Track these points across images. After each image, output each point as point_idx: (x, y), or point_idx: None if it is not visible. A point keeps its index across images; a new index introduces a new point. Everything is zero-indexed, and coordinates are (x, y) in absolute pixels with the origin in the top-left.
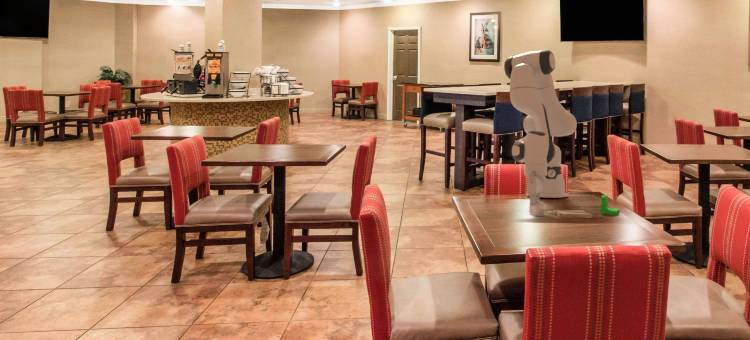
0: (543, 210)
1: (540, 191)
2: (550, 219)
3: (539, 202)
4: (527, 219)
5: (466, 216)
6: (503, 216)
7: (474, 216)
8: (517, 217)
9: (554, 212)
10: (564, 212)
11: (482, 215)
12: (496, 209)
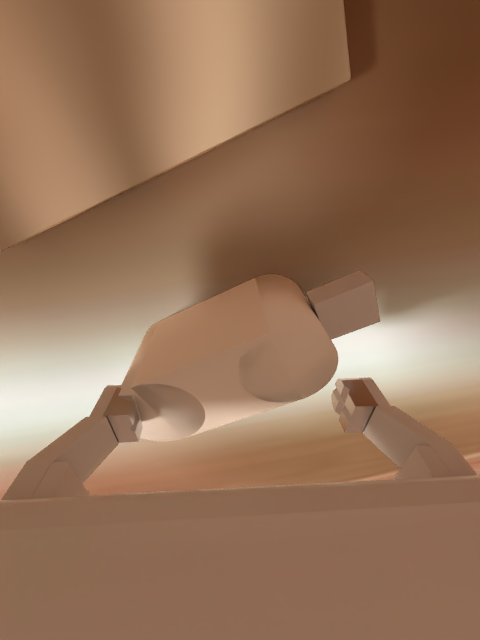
0: (370, 291)
1: (152, 524)
2: (461, 197)
3: (140, 387)
4: (458, 333)
5: None
6: None
7: (373, 480)
8: (376, 384)
9: (79, 212)
10: (170, 55)
11: (338, 474)
12: (109, 489)
